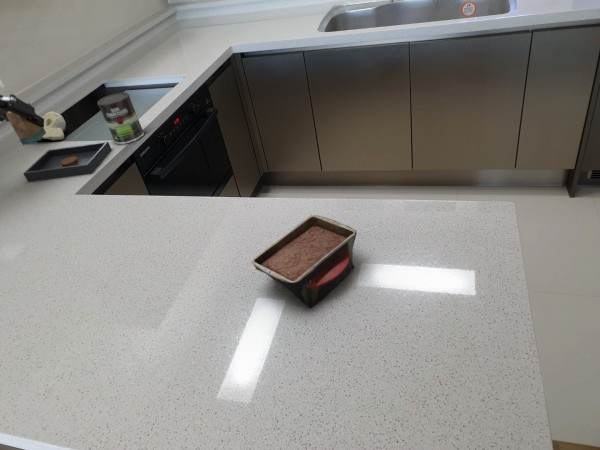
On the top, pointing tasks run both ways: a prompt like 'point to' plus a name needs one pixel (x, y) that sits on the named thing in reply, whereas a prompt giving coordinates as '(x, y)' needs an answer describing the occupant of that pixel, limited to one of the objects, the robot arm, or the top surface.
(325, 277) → the baking dish
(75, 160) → the grease smear
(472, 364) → the top surface
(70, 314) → the top surface
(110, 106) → the coffee can
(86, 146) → the pan
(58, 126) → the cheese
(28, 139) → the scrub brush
